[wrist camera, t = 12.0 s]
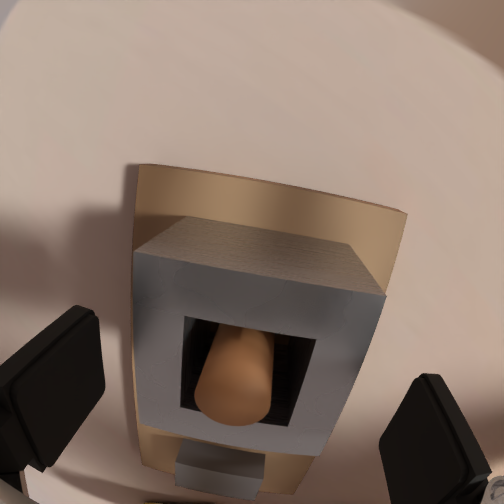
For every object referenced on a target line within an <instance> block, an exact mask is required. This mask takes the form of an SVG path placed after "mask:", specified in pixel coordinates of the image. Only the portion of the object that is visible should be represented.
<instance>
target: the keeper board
mask: <svg viewBox="0 0 504 504" xmlns="http://www.w3.org/2000/svg"><path fill="white" fill-rule="evenodd" d="M407 215H408V214H406V213H404V212H402V211H400V210H398V209H394V208H390V207H386V206H382V205H378V204H374V203H370V202H366V201H362V200H357V199H353V198H348V197H344V196H340V195H335V194H330V193H326V192H321V191H316V190H311V189H306V188H301V187H296V186H291V185H286V184H281V183H275V182H270V181H264V180H259V179H253V178H247V177H241V176H235V175H229V174H223V173H216V172H210V171H203V170H196V169H189V168H181V167H174V166H166V165H158V164H141V165H139V173H138V182H137V192H136V203H135V215H134V228H133V245H132V268H131V348H132V370H133V386H134V399H135V410H136V421H137V430H138V438H139V446H140V454H141V461H142V465H144V466H147V467H150V468H153V469H156V470H160V471H163V472H167V473H170V474H174V475H175V485H176V486H180V487H184V488H188V489H192V490H197V491H201V492H206V493H211V494H216V495H221V496H226V497H232V498H238V499H245V500H252V501H254V500H255V498H256V496H257V493H258V491H261V492H269V493H279V494H290V495H293V494H294V492H295V491H296V489H297V487H298V486H299V484H300V482H301V481H302V479H303V477H304V476H305V474H306V472H307V470H308V469H309V467H310V465H311V463H312V461H313V460H314V458H315V456H309V455H297V454H287V453H277V452H269V451H262V450H255V449H248V448H242V447H236V446H230V445H225V444H220V443H215V442H210V441H205V440H201V439H196V438H192V437H188V436H184V435H180V434H176V433H172V432H168V431H164V430H161V429H157V428H154V427H150V426H147V425H144V424H140V422H139V413H138V402H137V391H136V378H135V362H134V341H133V253H134V251H135V250H136V249H138V248H139V247H141V246H142V245H144V244H145V243H147V242H148V241H150V240H151V239H153V238H154V237H156V236H157V235H159V234H160V233H162V232H163V231H165V230H166V229H168V228H169V227H171V226H172V225H174V224H175V223H177V222H178V221H180V220H182V219H183V218H185V217H186V216H192V217H198V218H204V219H210V220H216V221H222V222H228V223H234V224H240V225H246V226H252V227H258V228H263V229H269V230H275V231H281V232H286V233H292V234H297V235H303V236H308V237H314V238H319V239H325V240H330V241H335V242H341V243H346V244H349V245H350V246H351V247H352V249H353V250H354V251H355V253H356V254H357V255H358V257H359V258H360V259H361V261H362V262H363V264H364V265H365V266H366V268H367V269H368V270H369V272H370V273H371V275H372V276H373V277H374V279H375V280H376V282H377V283H378V284H379V286H380V287H381V289H382V290H383V292H384V293H385V292H386V289H387V286H388V283H389V280H390V277H391V273H392V270H393V267H394V263H395V260H396V257H397V253H398V250H399V246H400V242H401V239H402V235H403V231H404V227H405V223H406V219H407ZM210 331H211V332H216V335H215V337H214V340H213V343H212V346H211V348H210V351H209V354H208V356H207V359H206V362H205V365H204V367H203V370H202V373H201V375H200V378H199V381H198V384H197V386H196V389H195V393H194V397H195V402H196V404H197V406H198V408H199V409H200V410H201V411H202V413H203V414H205V415H206V416H207V417H209V418H210V419H212V420H214V421H216V422H218V423H221V424H224V425H229V426H246V425H251V424H254V423H256V422H258V421H260V420H261V419H263V418H264V417H265V416H266V415H267V413H268V412H269V409H270V405H271V389H272V373H273V356H274V343H277V344H283V345H288V342H289V338H290V335H285V334H279V333H273V332H267V331H261V330H256V329H250V328H244V327H239V326H234V325H228V324H223V323H218V322H213V321H211V330H210Z"/></svg>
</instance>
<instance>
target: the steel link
mask: <svg viewBox="0 0 504 504" xmlns="http://www.w3.org/2000/svg"><path fill="white" fill-rule="evenodd" d="M386 297H387V296H386V294H385V293H384V292H383V290H382V289H381V287H380V286H379V284H378V283H377V282H376V280H375V279H374V277H373V276H372V275H371V273H370V272H369V270H368V269H367V268H366V266H365V265H364V264H363V262H362V261H361V259H360V258H359V257H358V255H357V254H356V253H355V251H354V250H353V249H352V247H351V246H350V245H349V244H346V243H341V242H335V241H330V240H325V239H319V238H314V237H308V236H303V235H297V234H292V233H286V232H281V231H275V230H269V229H263V228H258V227H252V226H246V225H240V224H234V223H228V222H222V221H216V220H210V219H204V218H198V217H192V216H186V217H185V218H183V219H182V220H180V221H178V222H177V223H175V224H174V225H172V226H171V227H169V228H168V229H166V230H165V231H163V232H162V233H160V234H159V235H157V236H156V237H154V238H153V239H151V240H150V241H148V242H147V243H145V244H144V245H142V246H141V247H139V248H138V249H136V250H135V251H134V253H133V341H134V362H135V378H136V391H137V402H138V413H139V422H140V424H144V425H147V426H150V427H154V428H157V429H161V430H164V431H168V432H172V433H176V434H180V435H184V436H188V437H192V438H196V439H201V440H205V441H210V442H215V443H220V444H225V445H230V446H236V447H242V448H248V449H255V450H262V451H269V452H277V453H287V454H297V455H309V456H320V454H321V452H322V450H323V448H324V446H325V444H326V442H327V440H328V438H329V437H330V435H331V433H332V430H333V428H334V426H335V424H336V422H337V420H338V418H339V416H340V414H341V412H342V410H343V407H344V405H345V403H346V401H347V399H348V396H349V394H350V392H351V390H352V387H353V385H354V383H355V380H356V378H357V375H358V373H359V371H360V368H361V366H362V363H363V361H364V358H365V356H366V353H367V350H368V348H369V345H370V343H371V340H372V337H373V335H374V332H375V329H376V326H377V323H378V321H379V318H380V315H381V312H382V309H383V306H384V303H385V300H386ZM211 321H213V322H218V323H223V324H228V325H234V326H239V327H244V328H250V329H256V330H261V331H267V332H273V333H279V334H285V335H290V338H289V342H288V345H283V344H277V343H274V356H273V373H272V389H271V405H270V409H269V412H268V413H267V415H266V416H265V417H264V418H263V419H261V420H260V421H258V422H256V423H254V424H251V425H246V426H229V425H224V424H221V423H218V422H216V421H214V420H212V419H210V418H209V417H207V416H206V415H205V414H203V413H202V411H201V410H200V409H199V408H198V406H197V404H196V402H195V397H194V393H195V389H196V386H197V384H198V381H199V378H200V375H201V373H202V370H203V367H204V365H205V362H206V359H207V356H208V354H209V351H210V348H211V346H212V343H213V340H214V337H215V335H216V332H211V331H210V330H211Z"/></svg>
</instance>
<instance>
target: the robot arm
mask: <svg viewBox="0 0 504 504" xmlns="http://www.w3.org/2000/svg"><path fill="white" fill-rule="evenodd" d="M104 391H105V377H104V369H103V360H102V351H101V340H100V327H99V319H98V317H97V316H95V313H94V311H93V310H91V309H88V308H85V307H82V306H79V305H75V306H73V307H72V308H70V309H69V310H68V311H66V312H65V313H64V314H63V315H61V316H60V317H59V318H58V319H56V320H55V321H54V322H52V323H51V324H50V325H49V326H47V327H46V328H45V329H44V330H42V331H41V332H40V333H39V334H38V335H36V336H35V337H34V338H33V339H31V340H30V341H29V342H28V343H27V344H25V345H24V346H23V347H22V348H21V349H19V350H18V351H17V352H16V353H15V354H13V355H12V356H11V357H10V358H9V359H7V360H6V361H5V362H4V363H3V364H2V365H0V504H39V503H37V502H35V501H34V500H32V499H30V498H29V494H28V489H27V484H26V479H25V473H24V469H25V467H26V466H27V465H30V466H32V467H33V468H35V469H37V470H38V471H40V472H42V473H43V472H44V470H45V469H46V467H51V466H53V465H54V463H55V462H56V460H57V459H58V458H59V456H60V455H61V453H62V452H63V450H64V449H65V447H66V446H67V445H68V443H69V442H70V440H71V439H72V437H73V436H74V435H75V433H76V432H77V430H78V429H79V427H80V426H81V425H82V423H83V422H84V420H85V419H86V418H87V416H88V415H89V413H90V412H91V411H92V409H93V408H94V406H95V405H96V404H97V402H98V401H99V399H100V398H101V397H102V395H103V393H104ZM379 450H380V454H381V459H382V463H383V468H384V472H385V477H386V481H387V486H388V491H389V496H390V501H391V504H504V476H497V477H494V478H492V479H491V480H490V481H489V482H488V479H487V477H488V476H489V475H490V474H491V473H492V471H491V469H490V467H489V465H488V462H487V460H486V458H485V456H484V454H483V452H482V450H481V448H480V446H479V444H478V442H477V440H476V438H475V436H474V434H473V432H472V430H471V429H470V427H469V425H468V423H467V421H466V419H465V417H464V415H463V414H462V412H461V410H460V408H459V406H458V405H457V403H456V401H455V399H454V397H453V396H452V394H451V392H450V390H449V389H448V387H447V385H446V384H445V382H444V380H443V378H442V377H441V376H440V375H439V374H427V373H423V374H421V375H420V376H419V377H418V378H415V379H414V380H413V382H412V384H411V386H410V388H409V390H408V392H407V393H406V395H405V397H404V399H403V401H402V402H401V404H400V406H399V408H398V409H397V411H396V413H395V415H394V416H393V418H392V420H391V421H390V423H389V425H388V426H387V428H386V430H385V431H384V433H383V434H382V436H381V438H380V441H379Z"/></svg>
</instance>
